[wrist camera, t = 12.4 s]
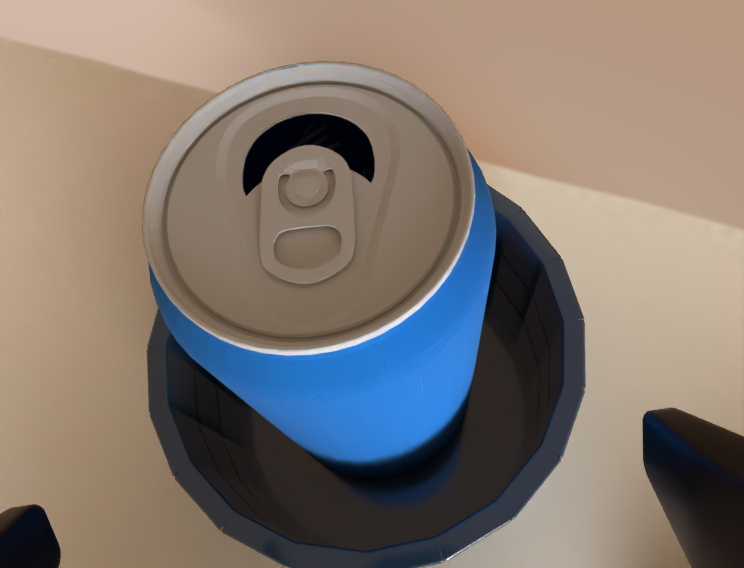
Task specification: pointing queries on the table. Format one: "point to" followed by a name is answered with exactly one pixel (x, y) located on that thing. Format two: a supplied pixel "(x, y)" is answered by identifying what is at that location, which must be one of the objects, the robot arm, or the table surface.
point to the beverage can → (327, 259)
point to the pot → (409, 488)
